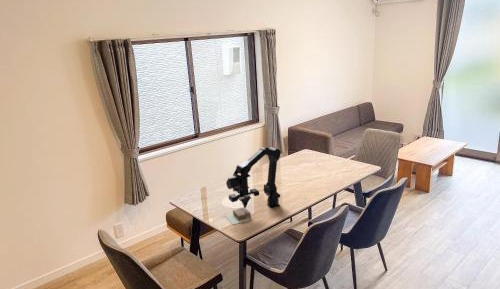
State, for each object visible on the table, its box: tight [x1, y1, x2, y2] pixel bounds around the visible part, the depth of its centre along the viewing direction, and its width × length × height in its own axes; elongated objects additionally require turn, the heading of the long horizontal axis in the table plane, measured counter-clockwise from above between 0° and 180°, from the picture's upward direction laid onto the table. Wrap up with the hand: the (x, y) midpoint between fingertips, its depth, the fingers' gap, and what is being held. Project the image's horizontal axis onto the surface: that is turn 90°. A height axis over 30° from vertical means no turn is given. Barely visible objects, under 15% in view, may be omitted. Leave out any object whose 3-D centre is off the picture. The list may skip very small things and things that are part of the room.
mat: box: [224, 212, 252, 226], centre depth 227 cm, size 12×14×1 cm
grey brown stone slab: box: [232, 206, 252, 220], centre depth 228 cm, size 3×9×8 cm
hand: (244, 207), depth 228 cm, fingers closed
